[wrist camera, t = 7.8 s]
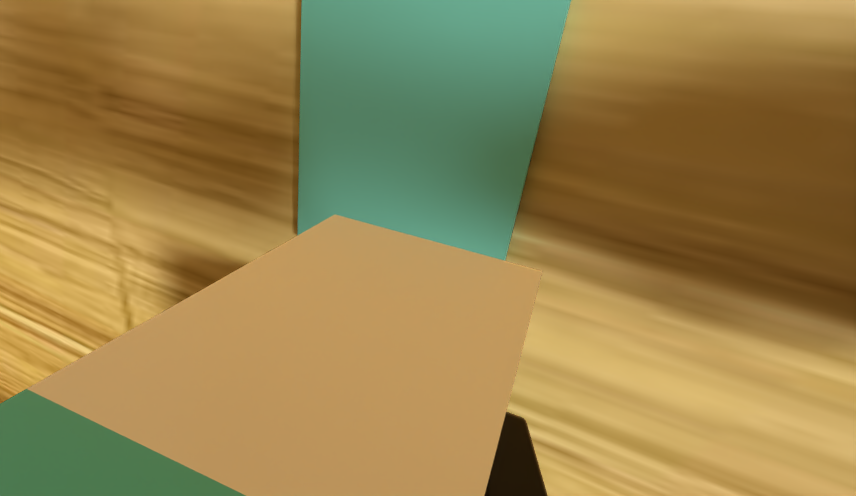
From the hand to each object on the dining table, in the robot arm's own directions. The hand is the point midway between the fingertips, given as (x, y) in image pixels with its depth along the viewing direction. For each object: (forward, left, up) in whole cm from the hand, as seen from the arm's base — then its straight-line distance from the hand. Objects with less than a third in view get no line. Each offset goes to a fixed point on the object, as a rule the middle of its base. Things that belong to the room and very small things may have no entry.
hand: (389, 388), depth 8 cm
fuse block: (0, 0, -1) cm, 1 cm away
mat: (+5, -2, -11) cm, 12 cm away
